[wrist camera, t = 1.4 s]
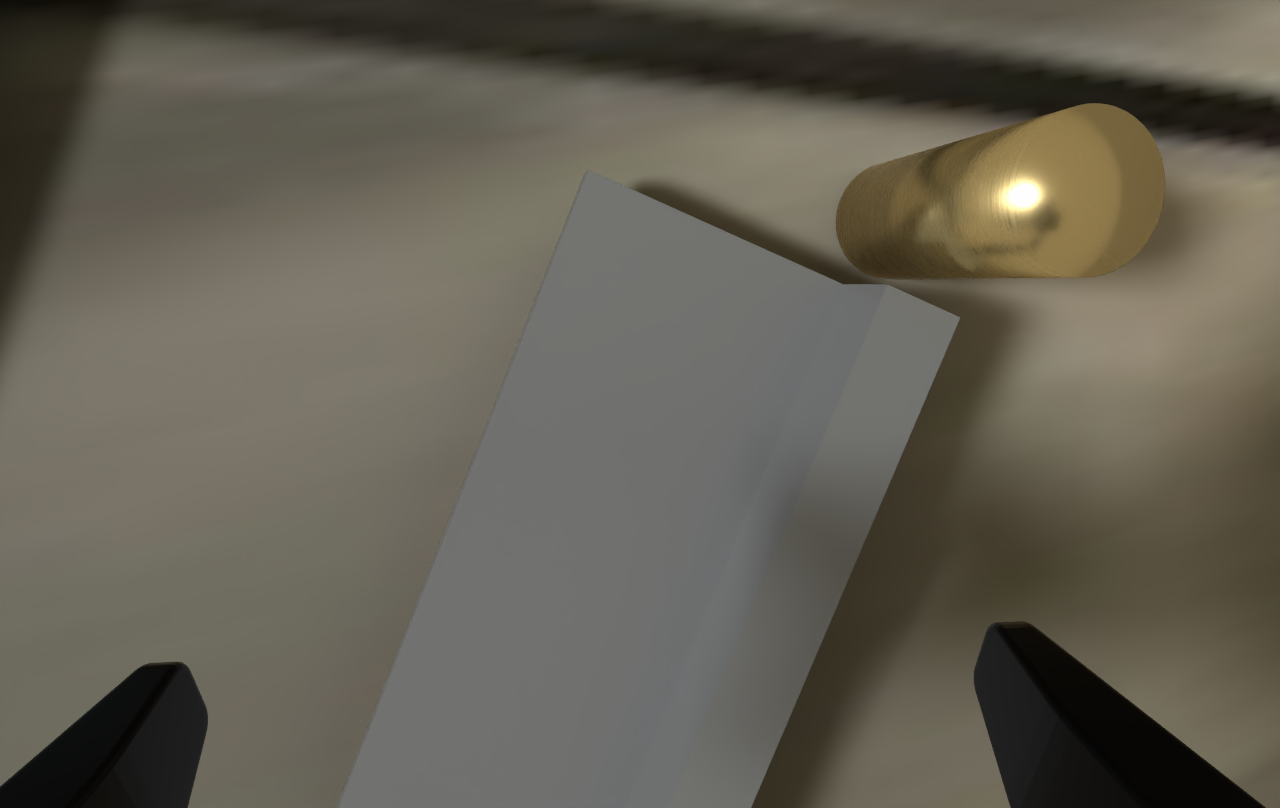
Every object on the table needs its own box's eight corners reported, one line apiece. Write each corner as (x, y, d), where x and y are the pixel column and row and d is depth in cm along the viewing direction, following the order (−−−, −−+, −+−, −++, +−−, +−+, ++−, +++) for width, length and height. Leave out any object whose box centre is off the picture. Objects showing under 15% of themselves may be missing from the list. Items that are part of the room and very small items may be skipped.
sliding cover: (893, 312, 22) (960, 317, 19) (629, 938, 24) (652, 1038, 21) (584, 173, 20) (602, 154, 17) (312, 866, 22) (284, 965, 18)
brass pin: (958, 191, 24) (1191, 147, 16) (914, 296, 24) (1122, 302, 16) (863, 143, 23) (1057, 73, 15) (818, 252, 23) (988, 237, 16)
